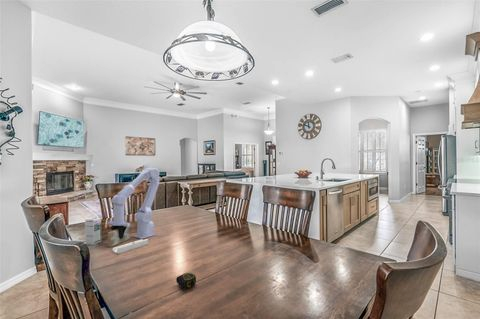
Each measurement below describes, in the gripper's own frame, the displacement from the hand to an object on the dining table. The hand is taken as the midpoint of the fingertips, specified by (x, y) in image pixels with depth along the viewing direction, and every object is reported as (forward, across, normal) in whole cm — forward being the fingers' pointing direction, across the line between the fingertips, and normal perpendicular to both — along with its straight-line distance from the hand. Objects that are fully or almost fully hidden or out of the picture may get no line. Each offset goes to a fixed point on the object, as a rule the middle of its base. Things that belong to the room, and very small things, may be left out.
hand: (119, 238), depth 139 cm
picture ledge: (+3, +12, -4) cm, 13 cm away
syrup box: (+3, -14, -4) cm, 15 cm away
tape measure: (+3, +62, -31) cm, 69 cm away
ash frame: (+3, 0, 0) cm, 3 cm away
